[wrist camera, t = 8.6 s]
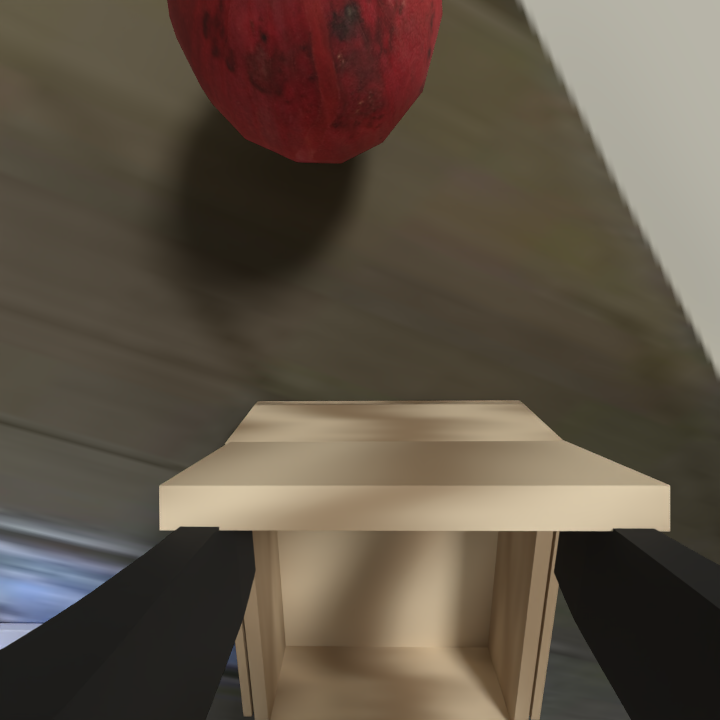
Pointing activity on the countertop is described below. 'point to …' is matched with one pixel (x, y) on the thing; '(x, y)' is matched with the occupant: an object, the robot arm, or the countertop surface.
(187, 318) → the countertop surface
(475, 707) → the carton
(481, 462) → the flap
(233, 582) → the robot arm
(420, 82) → the red rounded oval piece
